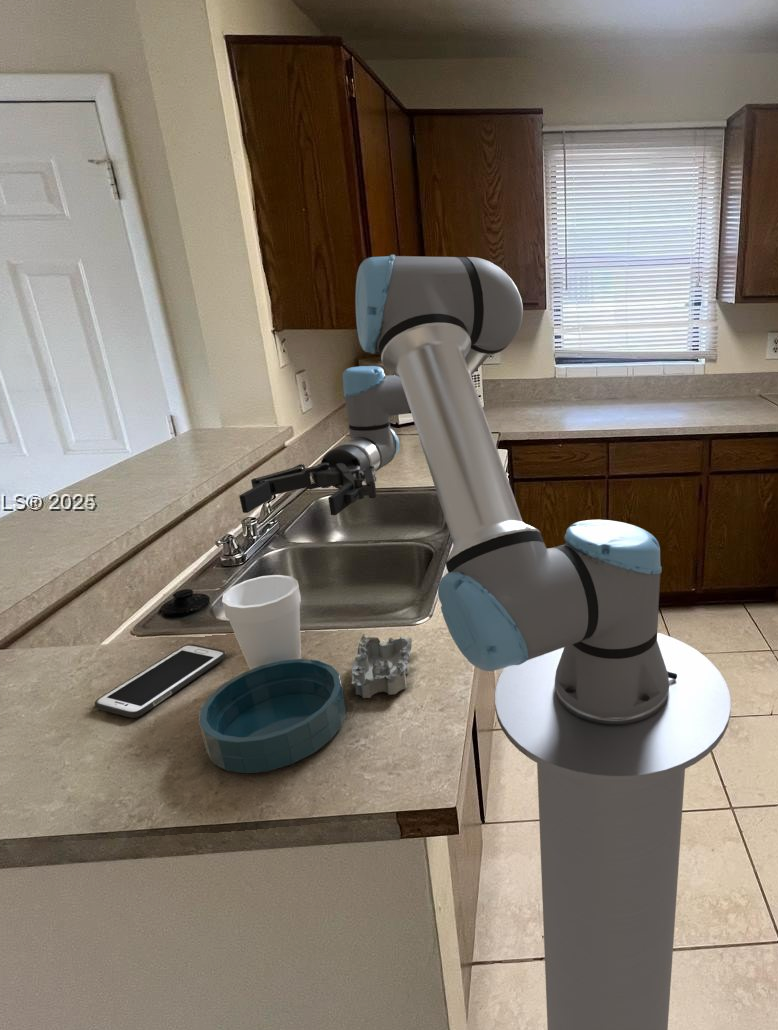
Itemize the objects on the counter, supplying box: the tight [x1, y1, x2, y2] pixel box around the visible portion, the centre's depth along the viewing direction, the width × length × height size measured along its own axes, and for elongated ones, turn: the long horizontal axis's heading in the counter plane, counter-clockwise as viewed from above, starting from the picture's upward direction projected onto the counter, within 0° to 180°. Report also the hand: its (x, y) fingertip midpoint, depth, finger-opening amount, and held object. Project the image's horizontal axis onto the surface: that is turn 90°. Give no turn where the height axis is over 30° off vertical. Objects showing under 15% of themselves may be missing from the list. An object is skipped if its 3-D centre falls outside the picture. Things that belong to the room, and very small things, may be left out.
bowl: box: [198, 658, 347, 774], centre depth 75 cm, size 16×16×5 cm
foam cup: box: [221, 574, 302, 670], centre depth 85 cm, size 10×9×13 cm
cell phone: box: [94, 643, 227, 719], centre depth 85 cm, size 8×15×1 cm, turn 163°
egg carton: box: [351, 634, 413, 699], centre depth 86 cm, size 11×8×4 cm
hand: (287, 505), depth 89 cm, fingers open, 13 cm apart
